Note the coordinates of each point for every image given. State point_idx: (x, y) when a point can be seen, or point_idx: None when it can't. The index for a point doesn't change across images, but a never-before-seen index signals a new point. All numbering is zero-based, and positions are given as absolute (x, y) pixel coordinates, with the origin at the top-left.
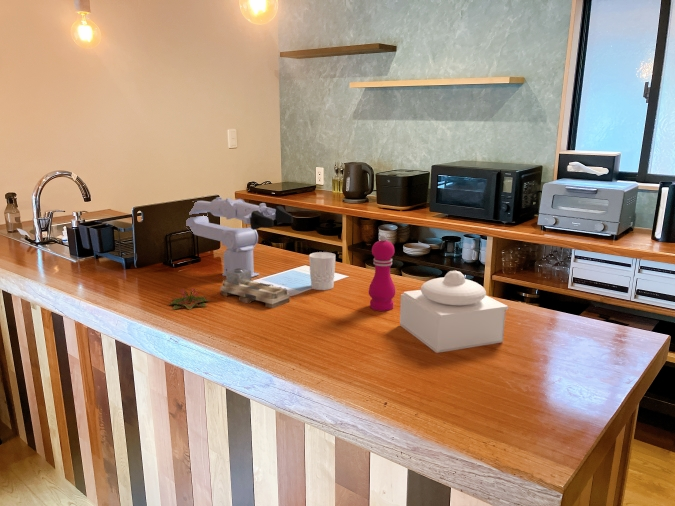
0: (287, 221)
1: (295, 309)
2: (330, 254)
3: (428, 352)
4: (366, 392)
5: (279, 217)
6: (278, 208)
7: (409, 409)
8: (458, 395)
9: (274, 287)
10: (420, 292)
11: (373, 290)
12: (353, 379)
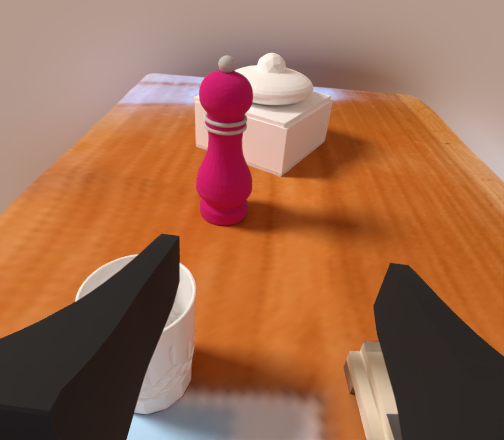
0: (164, 315)
1: (369, 319)
2: (85, 290)
3: (330, 145)
4: (451, 154)
5: (115, 416)
6: (84, 361)
7: (434, 134)
8: (382, 123)
9: (387, 386)
10: (269, 114)
11: (251, 180)
12: (448, 165)
